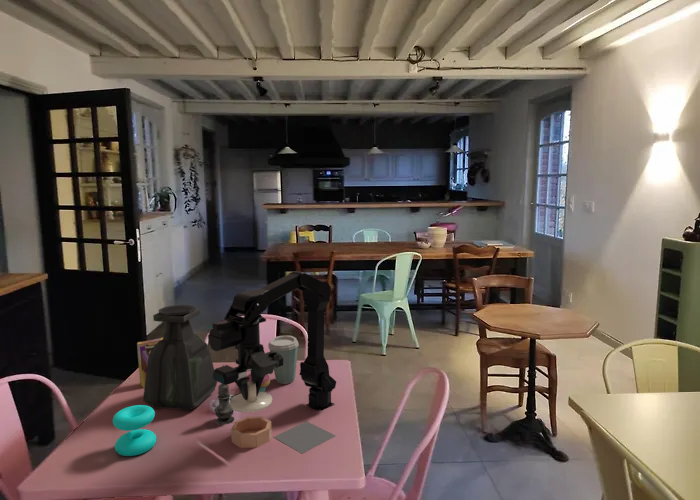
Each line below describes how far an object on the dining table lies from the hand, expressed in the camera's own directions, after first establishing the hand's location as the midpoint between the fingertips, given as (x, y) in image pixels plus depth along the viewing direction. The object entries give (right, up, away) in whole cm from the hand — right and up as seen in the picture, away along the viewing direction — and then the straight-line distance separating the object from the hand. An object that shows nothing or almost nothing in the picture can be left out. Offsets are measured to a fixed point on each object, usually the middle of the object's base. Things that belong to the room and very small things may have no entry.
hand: (250, 397), depth 127 cm
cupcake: (-4, -8, +30) cm, 32 cm away
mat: (+14, -12, +2) cm, 18 cm away
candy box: (-42, -7, +40) cm, 58 cm away
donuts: (-30, -13, -2) cm, 32 cm away
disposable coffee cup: (+3, -7, +41) cm, 42 cm away
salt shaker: (-10, -11, +13) cm, 19 cm away
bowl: (0, -12, +2) cm, 12 cm away
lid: (0, -1, 0) cm, 1 cm away
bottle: (-27, -9, +26) cm, 39 cm away
